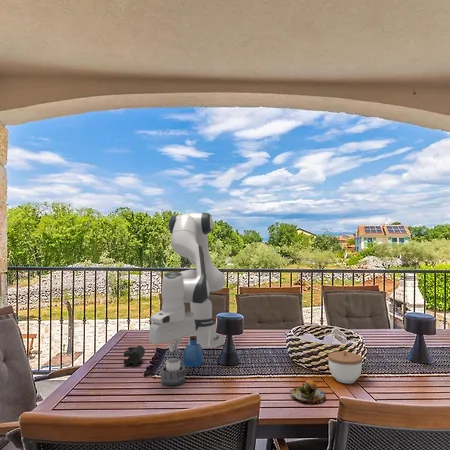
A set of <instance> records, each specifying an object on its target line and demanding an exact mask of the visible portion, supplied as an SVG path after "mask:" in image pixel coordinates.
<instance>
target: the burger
mask: <svg viewBox="0 0 450 450" xmlns="http://www.w3.org/2000/svg"><path fill="white" fill-rule="evenodd" d="M313 379H315V376H314V378H313ZM289 393H290V396H292V397H294V398H295V399H297V400H299V401H302V402H306V405H309V406H311V405H314V404H315V402H316V403H317V404H318V405H320V404H322V403H323V402H324V401H326V394H325V392H324V391H323V390H321V389H319V388H318V386H317V384H316V382H315V381H314V380H305V382H303V383H302V385H301V386H298V387H293V388H292V389H291V390H290V391H289Z"/></svg>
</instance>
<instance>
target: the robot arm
mask: <svg viewBox="0 0 450 450" xmlns="http://www.w3.org/2000/svg"><path fill="white" fill-rule="evenodd" d="M167 225H168V230H169V233H170V234H171V241H170V242H171V244H170V245H171V248H172V250H173V251H174V252H175V253H176V254H177V255H179V256H180V257H183V258H186V259H187V260H188V261H189V263H190V264H192V266H195V269H188V270H187V269H186V270H182V271H181V272H178V271H170V272H167V273H165V274H163V276H162V277H163V278H162V283H161V299H162V303H161V304H162V305H161V310H159V311H158V312H156V313H154V314H153V315H150V322H151V324H150V326H149V331H148V332H149V333H148V340H149V342H150V344H152V345H160V344H164V343H166V344H167V345H168V348H169V349H168V351H169V352H171V353H172V352H176V351H178V350H179V345H180V342H181V338H186V337H189V338H188V340H189V339H190V336H197V338H196V339H197V344H200V346H201V347H202V349H203V350H204V349H216V348H218V347H220V346H223V345H225V344H224V341H225V339H226V338H225V335H224V336H222V335H219V334H217V333H216V326H217V325H216V323H215V322H216V318H217V317H216V316H215V317H213V303H212V301H211V300H210V299H209V296H210V292H218V291H221V290H223V288H224V287H225V284H226V279H225V275H224V273H223V272H221V271H220V270H219V269H218V268H217V267H216V266H215V265H214V263H213V261H212V259H211V255H210V251H209V250H210V249H209V241H208V234H210V233H211V232H212V231H213V228H214V219H213V217H212V215H211V214H210V213H208V212H190V213H183V214H175V215H172V216H171V217H170V218H169V219H168V224H167ZM185 303H189V304H190V311H185V310H186V308H185ZM188 344H190V342H189V341H188V343H187V345H188Z"/></svg>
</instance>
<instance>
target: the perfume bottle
mask: <svg viewBox="0 0 450 450" xmlns="http://www.w3.org/2000/svg"><path fill="white" fill-rule="evenodd" d="M189 337H190V339H189V338H188V342H190V344H188V343H187V345H186V347H185V349H184V350H183V366H184V367H189V368H198V367H199V366H200V365H202V364H203V357H204V355H203V353H204V351H203V350H204V348H203V349H202V347H201V346H200V344H197V339H196V338H197V336H189Z"/></svg>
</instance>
